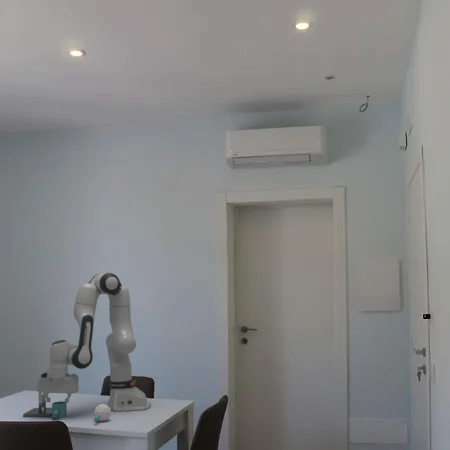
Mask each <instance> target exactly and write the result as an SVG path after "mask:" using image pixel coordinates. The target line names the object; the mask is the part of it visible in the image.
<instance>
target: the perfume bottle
mask: <svg viewBox="0 0 450 450" xmlns="http://www.w3.org/2000/svg"><path fill="white" fill-rule="evenodd" d="M108 405H109V404H108ZM108 405H107V404H105V403H101V404H99V405H97V406H96V407H95V408H94V412H93V420H94V421H95V422H97V421H98V422H100V423H101V422H102V421H103V422H106V421H107V420H109V419H110V418H111V415H112V410H111V409H110V408H109V406H108Z"/></svg>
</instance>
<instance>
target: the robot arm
mask: <svg viewBox="0 0 450 450" xmlns="http://www.w3.org/2000/svg"><path fill="white" fill-rule="evenodd" d="M101 295H107V297H108V300H109V301H108V302H109V305H108V307H109V309H108V310H109V312H108V313H109V315H108V316H109V324H110V327H111V333H109V334H108V335H107V336H106V338H105V345H106V348H107V353H108V354H107V355H108V360H109V369H110V370H109V371H110V373H109V375H110V378H109V379H110V380H109V385H108V386H109V387H108V388H109V389H108V390H109V400H108V406H109V408H110V409H111V411H114V412H129V411H131V412H132V411H145V410H147V409H150V408H151V407H152V403H151V402H148V400H147V399H148V398H147V396H146V393H145V392H143V391H142V390H141V389H140V388H138V387H137V386H136V382H137V381H136V380H134V379H133V378H132V362H131V360H130V356H129V354H131V353H132V352H134V351H135V349H136V346H137V341H136V339H135V336H134V332H133V331H134V330H133V326H132V325H133V324H132V317H131V298H130V292H129V288H128V287H127V286H125V285H122V283H121V282H120V278H119V277H118V275H116V274H114V273H112V272H102V273H101V272H100V273H97V274H95V275H94V276H93V277H91V279H90V280H89V282H86V283H82V284H81V285H80V286H79V288H78V290H77V293H76V297H75V300H74V304H73V318H74V319H75V321H76V322H77V324H78V326H79V334H78V335H79V336H78V343H77V345H75V344H72V343H70V342H68V341H67V340H66V339H65V340H64V339H61V340H56V341H53V342H52V343H51V345H50V349H49V368H48V369H49V370H46V371H43V372H40V373H39V375H38V376H39V378H38V381H37V388H36V390H37V392H38V394H39V393H44V396H45V397H46V403H51V397H49V394H66V396H67V397H66V398H64V402H67V403H69V402H70V398H71V396H72V394H77V393H78V392H79V375H78V374H76V373H69V372H68V369H69V368H68V366H69V365H71V366H73V367H75V368H77V369H79V370H83V369H84V370H85V369H86V368H88V367H89V366H90V365H91V364H92V362H93V359H94V358H93V352H92V341H93V332H94V322H95V314H96V310H97V304H98V299H99V297H100V296H101Z"/></svg>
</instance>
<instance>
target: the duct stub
mask: <svg viewBox="0 0 450 450" xmlns="http://www.w3.org/2000/svg"><path fill="white" fill-rule="evenodd" d="M22 417H23V418H50V417H51V418H52V407H47V402H46V397H45V396H44V393H38V407H34V408H32V409H31V410H28V411H27V412H24V413H23V415H22Z"/></svg>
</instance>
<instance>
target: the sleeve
mask: <svg viewBox="0 0 450 450" xmlns="http://www.w3.org/2000/svg"><path fill="white" fill-rule="evenodd" d="M67 403H68V402H65V400H63V401H54V402H52V403H51V408H52V416H51V418H52V419H53V420H54V419H55V420H62V419H65V418H67V417H68V416H67V410H68V409H67Z"/></svg>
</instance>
